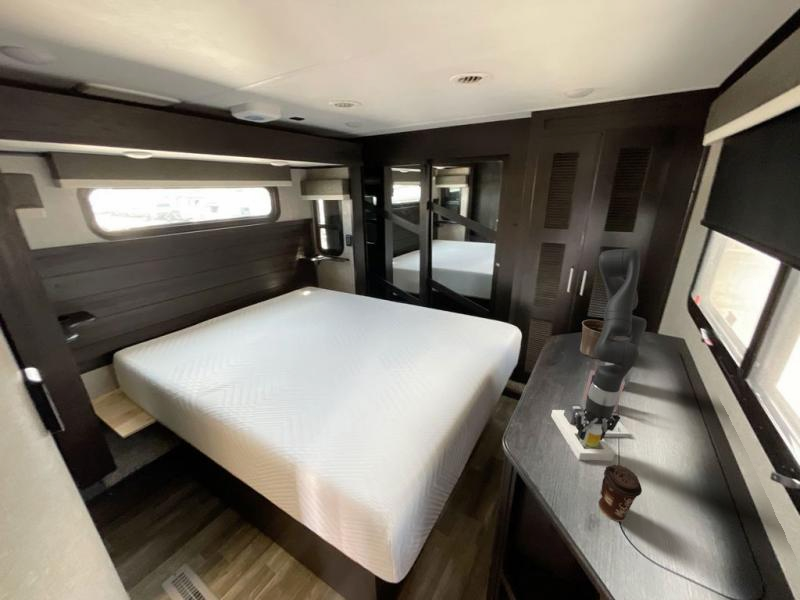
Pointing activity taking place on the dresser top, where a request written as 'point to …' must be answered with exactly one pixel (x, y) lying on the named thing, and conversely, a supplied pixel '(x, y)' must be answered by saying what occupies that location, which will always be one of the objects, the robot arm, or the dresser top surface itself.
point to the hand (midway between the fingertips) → (589, 437)
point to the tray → (618, 434)
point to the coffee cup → (618, 491)
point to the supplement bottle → (592, 436)
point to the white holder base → (570, 433)
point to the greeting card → (591, 383)
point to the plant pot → (591, 336)
